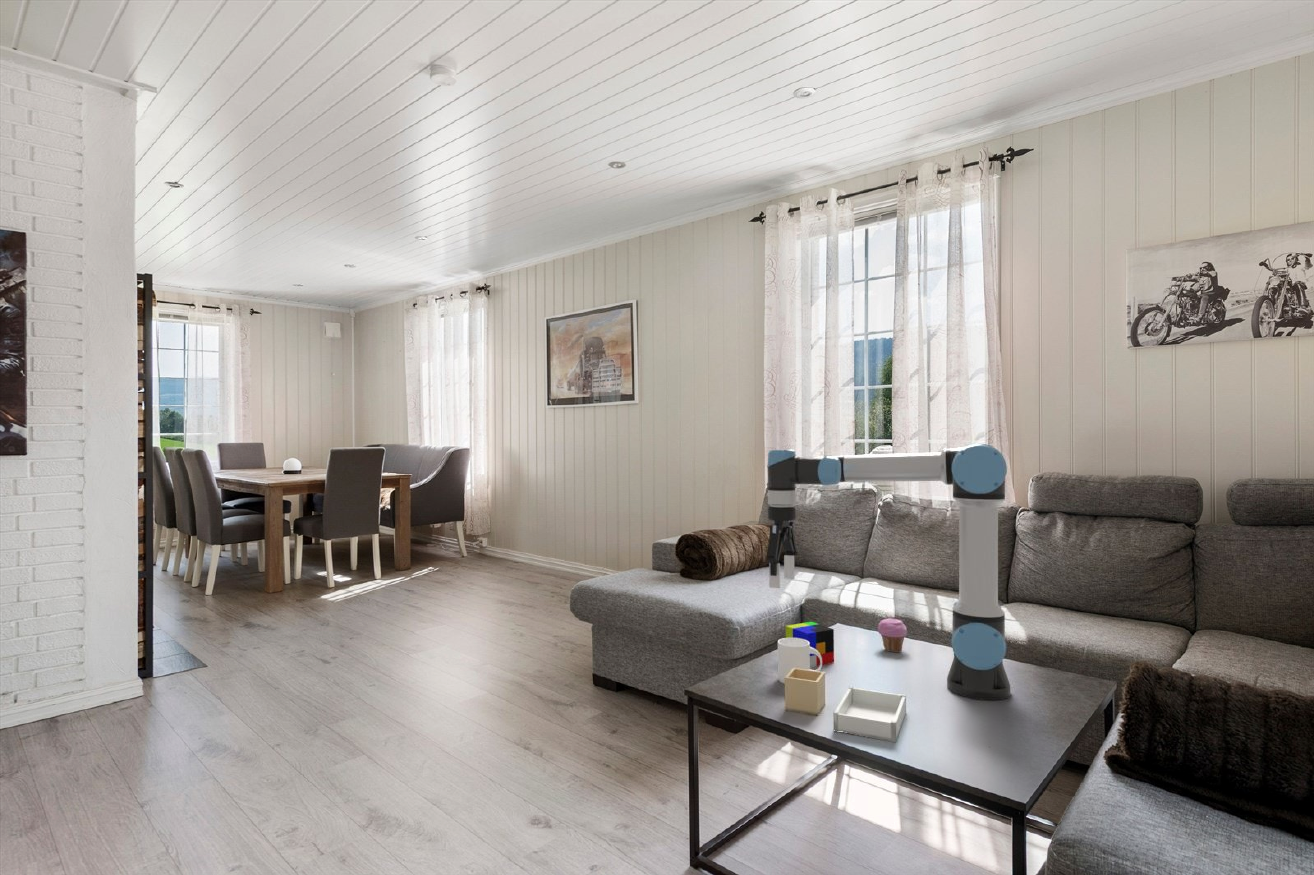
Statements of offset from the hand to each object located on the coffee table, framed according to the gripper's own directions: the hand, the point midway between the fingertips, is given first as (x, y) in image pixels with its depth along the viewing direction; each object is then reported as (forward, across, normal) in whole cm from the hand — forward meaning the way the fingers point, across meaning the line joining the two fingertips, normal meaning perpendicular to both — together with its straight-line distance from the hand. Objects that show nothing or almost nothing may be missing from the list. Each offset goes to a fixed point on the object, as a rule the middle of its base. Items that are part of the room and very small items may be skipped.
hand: (782, 583), depth 189 cm
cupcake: (+27, -42, +23) cm, 55 cm away
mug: (+27, -2, +4) cm, 28 cm away
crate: (+27, +18, +26) cm, 42 cm away
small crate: (+27, +16, +10) cm, 33 cm away
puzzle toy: (+27, -21, +2) cm, 34 cm away
